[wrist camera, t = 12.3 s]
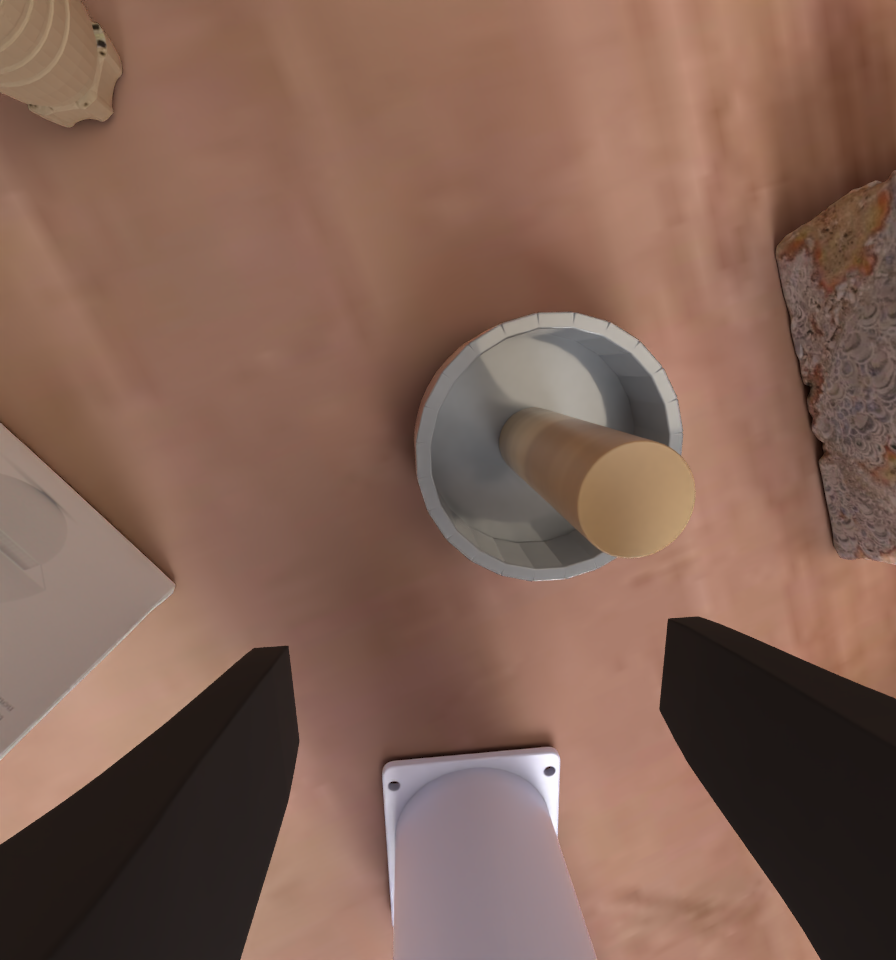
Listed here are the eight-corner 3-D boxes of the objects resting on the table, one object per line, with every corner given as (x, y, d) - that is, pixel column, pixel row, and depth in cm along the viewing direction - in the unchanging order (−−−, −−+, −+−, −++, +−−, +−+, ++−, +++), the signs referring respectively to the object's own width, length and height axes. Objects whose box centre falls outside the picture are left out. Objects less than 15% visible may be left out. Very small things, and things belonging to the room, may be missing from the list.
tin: (632, 543, 20) (671, 573, 17) (418, 556, 19) (421, 589, 16) (648, 319, 18) (695, 309, 15) (409, 323, 17) (410, 313, 14)
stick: (578, 434, 18) (720, 487, 10) (537, 487, 19) (642, 580, 11) (527, 393, 18) (632, 414, 10) (485, 449, 18) (552, 515, 10)
